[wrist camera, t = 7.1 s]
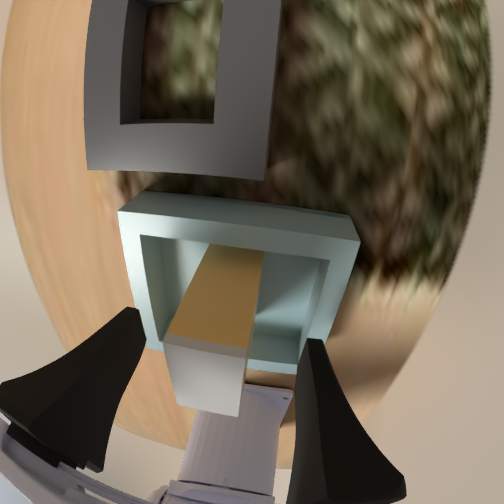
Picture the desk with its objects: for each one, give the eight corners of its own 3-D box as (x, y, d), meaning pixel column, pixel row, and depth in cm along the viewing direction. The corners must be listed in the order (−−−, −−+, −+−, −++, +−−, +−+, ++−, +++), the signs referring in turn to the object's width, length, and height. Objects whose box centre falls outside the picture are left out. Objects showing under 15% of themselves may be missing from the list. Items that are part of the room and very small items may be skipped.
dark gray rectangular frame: (267, 168, 12) (263, 180, 10) (108, 159, 12) (87, 170, 11) (287, -35, 7) (285, -52, 5) (117, -17, 7) (97, -26, 6)
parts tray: (310, 344, 17) (311, 375, 15) (160, 320, 18) (146, 347, 16) (349, 215, 12) (360, 242, 10) (142, 190, 13) (117, 210, 11)
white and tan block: (256, 314, 16) (238, 416, 10) (210, 307, 16) (177, 404, 10) (264, 248, 13) (245, 358, 8) (211, 240, 14) (162, 341, 8)
